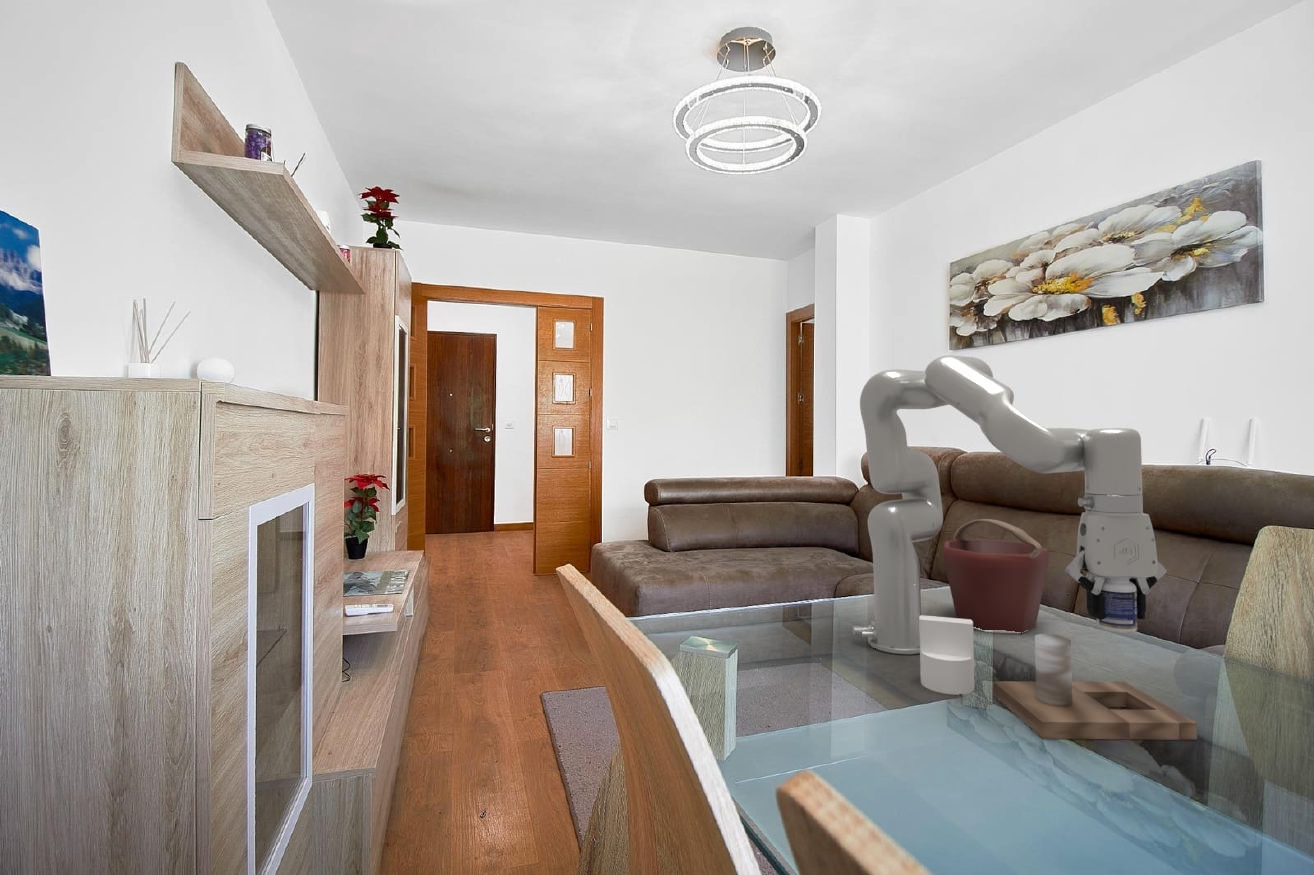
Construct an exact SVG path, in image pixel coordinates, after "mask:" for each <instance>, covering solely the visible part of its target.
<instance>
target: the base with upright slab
mask: <svg viewBox="0 0 1314 875" xmlns="http://www.w3.org/2000/svg"><path fill="white" fill-rule="evenodd" d="M919 631H920V653H919V665H920V667H919V668H920V669H919V670H920V673H919V674H920V684H921V685H922V686H923V687H924V688H926V689H927V690H930V691H933V692H937V693H940V694H945V695H953V696H954V695H957V696H958V695H959V694H962V695H967V694H972V693H973V692H974V691H975V655H974V654H975V653H974V652H975V650H974V629H973V621H972V620H970V619H958V618H957V617H947V616H934V615H925V614H924V615H923V614H921V616H920V617H919ZM973 690H974V691H973ZM972 691H973V692H972ZM959 696H960V695H959Z"/></svg>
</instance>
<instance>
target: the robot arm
mask: <svg viewBox="0 0 1314 875" xmlns="http://www.w3.org/2000/svg"><path fill="white" fill-rule="evenodd" d="M1014 399H1015V394H1014V391H1013V390H1012V388H1010V387H1009V386H1007V385H1006V384H1004V383H1003V382H1000V380H997V379H996V378H994V375H993V372H992V368H991V367H990V365H989V364H987V362H986V361H984V360H982V359H980V358H979V357H973V356H963V355H944V356H939V357H937V358H935V359H933V360H932V361H931V362H930V363H929V364H928V365H927V367H926V368H925V370H911V369H888V370H883V371H880V372H877V373H876V374H874V375H873V376H871V377H870V378H869V379H868V380H867V381H866V383H865V384H864V386H863V388H862V390H861V393H860V399H859V408H860V409H859V410H860V416H861V419H862V424H863V428H864V434H865V444H866V454H867V465H868V473H869V479H870V484H871V486H872V487H873V488H874V490H875V491H876V492H878V493H881V494H883V495H898V494H899V495H900V494H901V495H902V499H894V500H887V501H886V500H885V501H883V502H880V503H878V504H876V505H875V506H874V507H873V508H872V509H871V510H870V512H869V514H868V518H867V529H868V534H869V538H870V543H871V550H872V551H871V552H872V562H873V564H872V565H873V566H872V567H873V568H872V569H873V593H874V594H873V595H874V598H873V599H874V600H873V601H874V605H873V606H874V620H871V621H870V624H867V625H866V626H862V625H853V626H852V634H853V636H861V638H867V643H868V645H869V644H870V645H871V646H870V645H869V646H870V647H872V648H873V649H875V648H876V649H875V650H878V651H881V652H884V653H889V654H895V655H896V654H898V655H918V654H920V631H919V617H920V616H921V615H922V602H921V601H922V600H921V595H922V594H921V568H920V567H921V566H920V560H919V557H918V554H917V552H916V549H915V547H914V545H913V543H916V542H921V541H922V542H923V541H927V540H932V539H933V538H935V537H937V535H939V533H940V532H941V529H942V527H943V522H944V514H943V503H942V495H941V488H940V479H939V478H940V477H939V472H938V469H937V466H936V464H935V462H934V460H933V459H932V457H930V455H928V454H927V453H925V452H924V451H921V450H917V449H916V450H915V449H909V447H908V442H907V432H906V427H905V425H904V423H903V421H902V420H901V417H900V416H899V414H898V412H897V411H898V410H930V409H934V408H939V407H945V406H948V405H949V406H951V407H952V408H954V409H956V410H957V411H958V412H960V413H961V414H962V415H964V416H966V417H967V418H968V419H970V420H972V421H973V422H975V423H976V424H977V425H979V428H980V431H981V432H982V434H984V436H985V437H986V439H987V441H988V442H989V443H990V445H992V446H993V447H994V448H995V449H996V450H998V451H1000V452H1001V453H1002V454H1004V456H1007V457H1008V458H1009V459H1011V460H1012V461H1014V462H1015V463H1016V464H1018V465H1020V466H1021V467H1024V468H1025V469H1027V470H1029V471H1032V472H1034V473H1038V474H1054V473H1068V472H1079V471H1080V472H1081V471H1084V496H1083V497H1082V498H1081V497H1079V498H1078V499H1077V504H1078V506H1079V507H1084V510H1085V512H1081V515H1080V520H1079V524H1078V530H1077V539H1076V541H1077V542H1076V556H1075V557H1074V558H1073V559H1072V561H1071V562H1070V563H1069V564H1068V565H1067V567H1065V569H1064V573H1066V574H1067V575H1068V576H1069V577H1070V578H1072V579H1073V580H1074V581H1075V582H1076V583H1077V584H1078V585H1079V586H1080V587H1081V588H1082V590H1084V591H1086V610H1087V612H1088V615H1089V616H1090V617H1093V618H1095V619H1096V618H1097V619H1099V620H1103V619H1105V601H1104V595H1102V594H1100V592H1101V589H1102V585H1103V582H1104V579H1105V578H1130V579H1129V582H1132V583H1133V584H1134V585H1135V586H1136V591H1137V620H1145V619H1146V612H1147V602H1146V600H1147V599H1146V598H1147V597H1146V595H1148V594H1150V592H1151V588H1152V587H1153V586H1155V585H1156V583H1157V582H1158V580H1160V579H1161V578H1162V577H1163V576H1164V575H1165V574H1167V569H1166V568H1165V567H1164V566H1163V565H1162V563H1160V562H1159V560H1158V554H1157V553H1158V552H1157V543H1156V538H1155V533H1154V532H1155V531H1154V528H1153V524H1152V522H1151V521H1152V520H1151V518H1150V514H1148V513H1144V508H1143V504H1144V502H1143V501H1144V500H1143V499H1144V498H1143V465H1142V464H1143V462H1142V460H1143V459H1142V438H1141V434H1140V433H1139V432H1138V431H1137V430H1136V429H1133V428H1128V427H1127V428H1126V427H1125V428H1121V427H1116V428H1115V427H1114V428H1094V429H1083V428H1073V427H1070V428H1069V427H1066V428H1063V427H1056V428H1055V427H1053V428H1050V427H1049V428H1046V427H1045V426H1042V425H1040V424H1039V423H1037V422H1036V421H1034V420H1032V419H1030V418H1029V417H1027V416H1026V415H1024V414H1023V413H1021V412H1020V411H1019V410H1018V409H1017V408H1015V407H1014V406H1013V403H1014ZM1081 572H1084V573H1086V575H1083V574H1082V573H1081Z"/></svg>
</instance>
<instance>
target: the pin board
mask: <svg viewBox="0 0 1314 875" xmlns="http://www.w3.org/2000/svg"><path fill="white" fill-rule="evenodd" d="M1034 658H1035V664H1034V665H1035V680H1034V681H1032V680H1030V681H1029V680H1028V681H1026V680H1025V681H1022V680H1021V681H1019V680H1018V681H1017V680H1016V681H1013V680H1012V681H1011V680H1010V681H1007V680H1003V681H1002V680H1001V681H1000V680H999V681H998V680H997V681H993V682H992V689H993V690H992V691H993V694H992V695H995V698H996V699H997V698H998V699H1000V701H1001V702H1002V703H1004V704H1005V705H1006V706H1007V707H1008V708H1010V710H1011V711H1010V710H1009V711H1010V712H1011V713H1012V714H1014V713H1015V714H1016V715H1017V716H1018V717H1020V718H1021V719H1020V718H1019V719H1020V720H1021V721H1022V723H1024V722H1025V723H1026V724H1025V723H1024V724H1025V725H1027V726H1028V727H1029V726H1030V727H1031V728H1032V729H1033V730H1034V732H1035V733H1036V734H1037V735H1038V736H1039V737H1040V738H1041V739H1043V740H1044V739H1045V740H1048V739H1050V740H1051V739H1052V740H1158V741H1160V740H1162V741H1163V740H1164V741H1165V740H1173V741H1175V740H1176V741H1177V740H1178V741H1180V740H1183V741H1185V740H1186V741H1188V740H1189V741H1192V740H1193V741H1197V740H1198V733H1197V731H1198V728H1197V722H1196V721H1194V720H1192V719H1190V718H1189V717H1187V716H1185V715H1183V714H1182V713H1180V712H1178V711H1177V710H1175V709H1173V708H1171V707H1169V706H1168V705H1165V704H1164V703H1162V702H1160V701H1159V700H1157V699H1155V698H1154V697H1152V696H1151V695H1148V694H1147V693H1145V692H1143V691H1141V690H1140V689H1138V688H1136V687H1134V686H1133V685H1131V684H1130V683H1128V682H1126V681H1091V680H1090V681H1082V680H1081V681H1073V676H1072V675H1073V673H1072V672H1073V668H1072V666H1073V665H1072V664H1073V663H1072V640H1071V639H1070V638H1068V637H1066V636H1063V635H1057V634H1052V633H1051V634H1050V633H1039V634H1035V635H1034ZM998 699H997V700H998ZM1000 701H999V702H1000ZM1001 702H1000V703H1001ZM1002 703H1001V704H1002ZM1004 704H1003V705H1004ZM1005 705H1004V706H1005ZM1006 706H1005V707H1006ZM1007 707H1006V708H1007ZM1008 708H1007V709H1008ZM1109 708H1128V709H1109ZM1015 714H1014V715H1015ZM1016 715H1015V716H1016ZM1017 716H1016V717H1017ZM1030 727H1029V728H1030ZM1031 728H1030V729H1031ZM1032 729H1031V730H1032ZM1033 730H1032V731H1033Z"/></svg>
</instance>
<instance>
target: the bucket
mask: <svg viewBox="0 0 1314 875" xmlns="http://www.w3.org/2000/svg"><path fill="white" fill-rule="evenodd" d="M981 523H982V524H983V523H987V524H991V525H994V526H995V527H998V528H1001V529H1003V530H1004V531H1007V532H1009V533H1011V535H1013V536H1014V537H1015V538H1016V539H1017V540H1018V541H1011V540H999V539H998V540H997V539H985V538H976V539H975V538H974V539H972V538H971V539H966V538H965V536H966V535H967V534H968V532H969V531H970V530H971V529H972V528H973V527H975V526H977V525H979V524H981ZM1049 559H1050V556H1049V548H1045V547H1042V545H1041V543H1040V542H1038V541H1037V540H1036V539H1035V538H1033V537H1031V536H1030V535H1029V534H1028V533H1027V532H1025V530H1023V529H1021V528H1019V527H1018V526H1017V527H1016V526H1014V525H1012V524H1010V523H1008V522H1005V521H1001V520H998V519H990V518H982V519H981V518H980V519H978V518H977V519H973V520H971V521H968V522H965V523H964V524H962V525H961V526H960V527H958V528H957V530H956V531H955V533H954V535H953V540H945V541H944V545H943V562H944V566H945V570H946V576H947V579H948V580H947V581H948V586H949V589H950V594H951V598H952V602H953V608H954V611H955V615H956V617H955V618H958V619H970V620H972V621H973V627H976V628H980V629H982V630H1006V631H1015V632H1021V633H1022V632H1024V631H1026V630H1029V631H1031V630H1033V629H1035V628H1036V627H1037V620H1038V616H1039V612H1040V606H1041V602H1042V597H1043V592H1044V587H1045V582H1046V578H1047V572H1048V566H1049V563H1050V560H1049Z"/></svg>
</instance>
